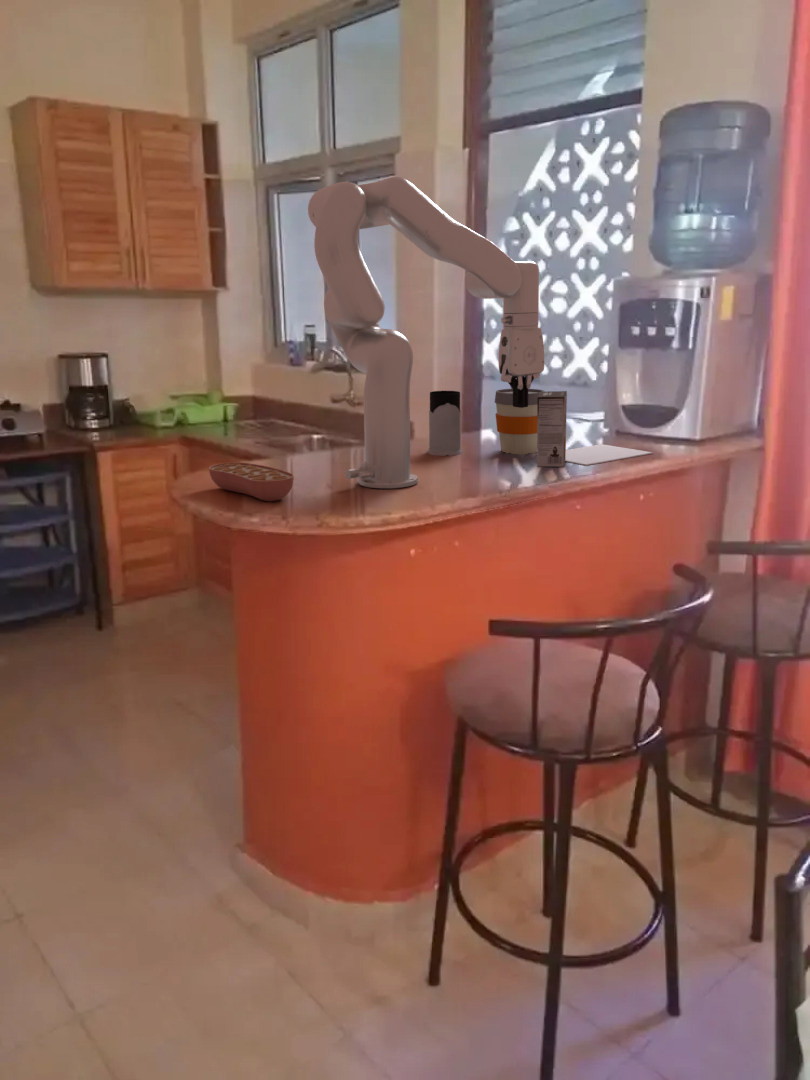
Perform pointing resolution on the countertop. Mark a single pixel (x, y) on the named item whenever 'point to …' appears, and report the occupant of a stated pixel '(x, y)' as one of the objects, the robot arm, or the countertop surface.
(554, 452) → the coffee box
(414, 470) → the countertop surface
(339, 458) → the countertop surface
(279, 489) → the brown oblong piece
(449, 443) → the glass holder
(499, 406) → the reusable coffee cup
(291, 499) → the countertop surface
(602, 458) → the mat
